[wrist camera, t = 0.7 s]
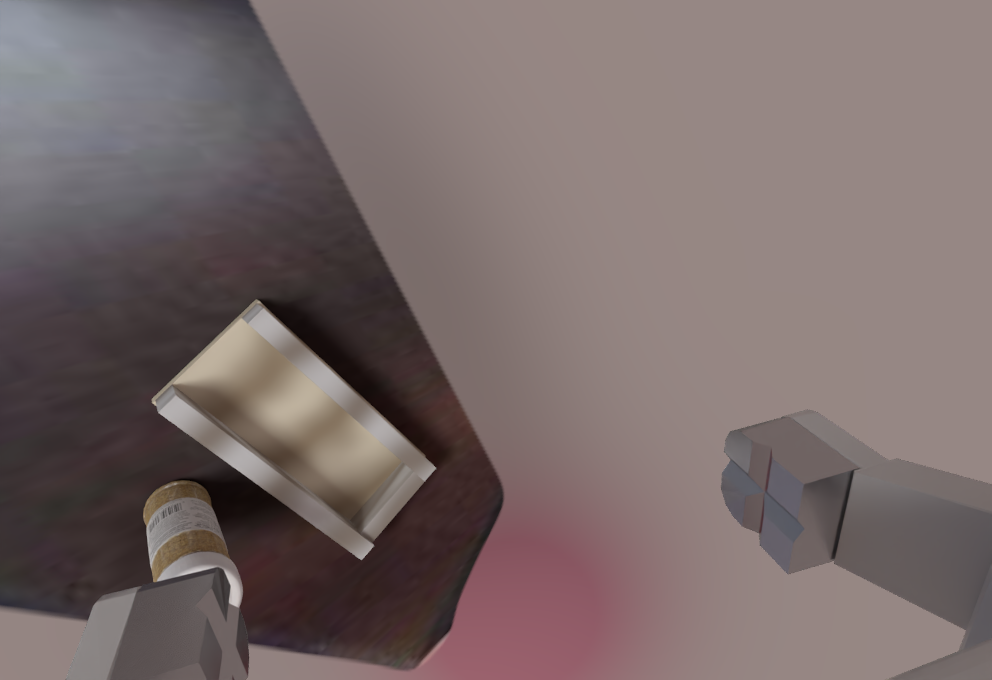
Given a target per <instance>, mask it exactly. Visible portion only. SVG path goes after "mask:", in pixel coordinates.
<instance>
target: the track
mask: <svg viewBox="0 0 992 680" xmlns="http://www.w3.org/2000/svg"><path fill="white" fill-rule="evenodd" d="M152 403H153V404H155V405H156V406H157V410H158V413H160V414H161V415H162V416H164V417H165V418H166V419H168V420H169V421H171V422H172V423H173V424H175V425H176V426H177V427H179V428H180V429H182V430H183V431H184V432H186V433H187V434H188V435H190V436H191V437H193V438H194V439H195V440H197V441H198V442H199V443H201V444H202V445H204V446H205V447H206V448H208V449H209V450H210V451H212V452H213V453H215V454H216V455H217V456H219V457H220V458H221V459H223V460H224V461H226V462H227V463H228V464H230V465H231V466H232V467H234V468H235V469H237V470H238V471H239V472H241V473H242V474H244V475H245V476H246V477H248V478H249V479H250V480H252V481H253V482H255V483H256V484H257V485H259V486H260V487H261V488H263V489H264V490H266V491H267V492H268V493H270V494H271V495H272V496H274V497H275V498H277V499H278V500H279V501H281V502H282V503H283V504H285V505H286V506H288V507H289V508H290V509H292V510H293V511H294V512H296V513H297V514H299V515H300V516H301V517H303V518H304V519H305V520H307V521H308V522H310V523H311V524H312V525H314V526H315V527H316V528H318V529H319V530H321V531H322V532H323V533H325V534H326V535H328V536H329V537H330V538H332V539H333V540H334V541H336V542H337V543H339V544H340V545H341V546H343V547H344V548H345V549H347V550H348V551H350V552H351V553H352V554H354V555H355V556H356V557H358V558H359V559H361V560H362V559H363V558H364V557H365V556H366V555H367V553H368V552H369V551H370V550H371V549H372V548H373V546H374V544H373V543H372V542H373V541H374V540H375V539H376V538H377V536H378V535H379V534H380V533H381V532H382V531H383V529H384V528H385V527H386V526H387V525H388V524H389V522H390V521H391V520H392V519H393V518H394V517H395V515H396V514H397V513H398V512H399V511H400V510H401V508H402V507H403V506H404V505H405V504H406V503H407V502H408V500H409V499H410V498H411V497H412V496H413V495H414V493H415V492H416V491H417V490H418V489H419V488H420V486H421V485H422V484H423V483H424V482H425V481H426V479H427V478H428V477H429V476H430V475H431V474H432V472H433V471H434V470H435V469H436V467H435V466H434V465H433V464H432V463H430V462H429V461H428V460H427V459H426V458H425V455H424V454H423V453H422V452H421V451H420V450H419V449H418V448H417V447H416V446H415V445H414V444H413V443H411V442H410V441H409V440H408V439H407V438H406V437H405V436H404V435H403V434H402V433H401V432H400V431H399V430H397V429H396V428H395V427H394V426H393V425H392V424H391V423H390V422H389V421H388V420H387V419H386V418H385V417H383V416H382V415H381V414H380V413H379V412H378V411H377V410H376V409H375V408H374V407H373V406H372V405H371V404H369V403H368V402H367V401H366V400H365V399H364V398H363V397H362V396H361V395H360V394H359V393H358V392H357V391H356V390H354V389H353V388H352V387H351V386H350V385H349V384H348V383H347V382H346V381H345V380H344V379H343V378H342V377H340V376H339V375H338V374H337V373H336V372H335V371H334V370H333V369H332V368H331V367H330V366H329V365H328V364H326V363H325V362H324V361H323V360H322V359H321V358H320V357H319V356H318V355H317V354H316V353H315V352H314V351H312V350H311V349H310V348H309V347H308V346H307V345H306V344H305V343H304V342H303V341H302V340H301V339H300V338H298V337H297V336H296V335H295V334H294V333H293V332H292V331H291V330H290V329H289V328H288V327H287V326H286V325H284V324H283V323H282V322H281V321H280V320H279V319H278V318H277V317H276V316H275V315H274V314H273V313H272V312H270V311H269V310H268V309H267V308H266V307H265V306H264V305H263V304H262V303H261V302H260V301H258V300H257V299H256V300H255V301H254V302H253V303H252V304H251V305H250V306H249V307H248V308H247V309H245V310H244V311H243V312H242V313H241V314H240V315H239V316H238V317H237V318H236V319H235V320H234V321H233V322H232V323H231V324H230V325H229V326H228V327H227V328H226V329H225V330H223V331H222V332H221V333H220V334H219V335H218V336H217V337H216V338H215V339H214V340H213V341H212V342H211V343H210V344H209V345H208V346H207V347H206V348H205V349H204V350H203V351H202V352H200V353H199V354H198V355H197V356H196V357H195V358H194V359H193V360H192V361H191V362H190V363H189V364H188V365H187V366H186V367H185V368H184V369H183V370H182V371H181V372H180V373H178V374H177V375H176V376H175V377H174V378H173V379H172V380H171V381H170V382H169V383H168V384H167V385H166V386H165V387H164V388H163V389H162V390H161V391H160V392H159V393H158V394H156V395H155V396H154V397H153V398H152Z"/></svg>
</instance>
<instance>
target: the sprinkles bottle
mask: <svg viewBox="0 0 992 680" xmlns="http://www.w3.org/2000/svg"><path fill="white" fill-rule="evenodd" d="M143 517H144V522H145V524H146V526H147V540H148V549H149V558H150V565H151V569H152V574H153V579H154V582H157V581H162V580H166V579H170V578H174V577H178V576H182V575H186V574H191V573H195V572H199V571H203V570H207V569H211V568H215V567H220V568H222V569H224V572H225V574H226V576H227V579H228V581H229V583H230V585H231V588H230V596H229V603H230V604H232V605H234V606H236V607H238V608H239V606H240V604H241V600H242V596H243V588H242V583H241V579H240V576H239V573H238V570H237V568H236V566H235V564H234V563H233V562H232V561H231V560H230V558H229V555H228V550H227V547H226V544H225V541H224V538H223V535H222V532H221V530H220V527H219V524H218V521H217V518H216V515H215V512H214V511H213V509H212V506H211V498H210V496H209V494H208V492H207V491H206V489H205V488H204V487H203V486H201V485H200V484H198V483H196V482H192V481H185V480H180V481H173V482H170V483H167V484H165V485H163V486H161V487H160V488H159V489H157V490H156V491H155V492H153V494H152V495H151V496H150V497H149V499H148V500H147V502H146V505H145V508H144V514H143Z"/></svg>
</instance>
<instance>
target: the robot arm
mask: <svg viewBox="0 0 992 680" xmlns="http://www.w3.org/2000/svg"><path fill="white" fill-rule="evenodd" d="M724 452H725V453H726V455H727V456H728V457H729V458H730V460H731V461H730V462H729V464H728V465H727V467H726V468H725V469H724V471H723V472H722V483H721V490H722V493H723V497H724V500H725V504H726V506H727V507H728V509H729V511H730V512H731V514H732V516H733V517H734V518H735V519H736V520H737V521H738V522H739V523H740V525H741V526H743V527H745V528H747V529H750V530H752V531H755V532H757V533H759V540H760V546H761V547H762V548H763V549H764V550H765V551H766V552H767V553H768V554H769V555H770V556H771V557H772V558H773V559H774V560H775V561H776V563H777V564H778V565H779V566H780V567H781V568H782V569H783V570H784V571H785V572H786V573H787V574H791V573H794V572H798V571H801V570H804V569H808V568H811V567H815V566H818V565H822V564H825V563H828V562H832V561H834V564H836V565H838V566H840V567H842V568H844V569H846V570H848V571H850V572H852V573H854V574H856V575H858V576H860V577H862V578H864V579H866V580H868V581H870V582H872V583H873V584H876V585H877V586H880V587H881V588H883V589H885V590H888V591H889V592H891V593H893V594H895V595H897V596H899V597H901V598H903V599H905V600H907V601H909V602H911V603H913V604H915V605H917V606H919V607H921V608H923V609H925V610H927V611H929V612H931V613H933V614H935V615H937V616H939V617H941V618H943V619H945V620H947V621H949V622H951V623H953V624H955V625H957V626H959V627H961V628H963V629H965V630H966V633H965V635H964V638H963V641H962V643H961V646H960V649H959V651H958V652H956V653H953V654H951V655H948V656H945V657H943V658H940V659H938V660H935V661H933V662H930V663H927V664H925V665H922V666H920V667H918V668H915V669H912V670H910V671H907V672H904V673H902V674H899V675H897V676H895V677H892V678H889V679H887V680H992V484H988V483H985V482H982V481H978V480H974V479H970V478H966V477H963V476H959V475H956V474H952V473H948V472H945V471H941V470H937V469H934V468H930V467H926V466H923V465H919V464H915V463H912V462H908V461H904V460H901V459H894V460H890V461H889V460H888V459H886V458H885V457H883V456H882V455H880V454H879V453H877V452H876V451H874V450H873V449H871V448H870V447H868V446H867V445H865V444H864V443H862V442H861V441H859V440H858V439H857V438H855V437H854V436H852V435H850V434H849V433H848V432H846V431H845V430H843V429H842V428H840V427H839V426H837V425H836V424H834V423H833V422H831V421H830V420H828V419H827V418H825V417H824V416H823V415H821V414H820V413H818V412H816V411H812V410H804V411H800V412H797V413H794V414H790V415H786V416H783V417H781V418H779V419H774V420H770V421H767V422H763V423H760V424H756V425H752V426H749V427H745V428H741V429H738V430H734V431H730V433H729V434H728V436H727V438H726V440H725V448H724ZM230 588H231V585H230V583H229V581H228V579H227V576H226V574H225V572H224V569H222V568H220V567H215V568H211V569H207V570H203V571H199V572H195V573H191V574H186V575H182V576H178V577H174V578H170V579H166V580H162V581H157V582H153V583H149V584H145V585H143V586H141V587H136V588H131V589H127V590H123V591H119V592H115V593H111V594H107V595H103V596H102V597H101V598H100V599H99V600H98V601H97V602H96V603H95V605H94V606H93V609H92V611H91V614H90V617H89V619H88V622H87V625H86V627H85V630H84V632H83V635H82V638H81V640H80V644H79V646H78V648H77V651H76V654H75V657H74V659H73V662H72V664H71V667H70V670H69V672H68V675H67V678H66V680H246V679H247V677H248V668H249V649H248V636H247V632H246V627H245V623H244V619H243V617H242V614H241V611H240V609H239V608H238V607H236V606H234V605H232V604H230V603H229V596H230Z"/></svg>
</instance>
